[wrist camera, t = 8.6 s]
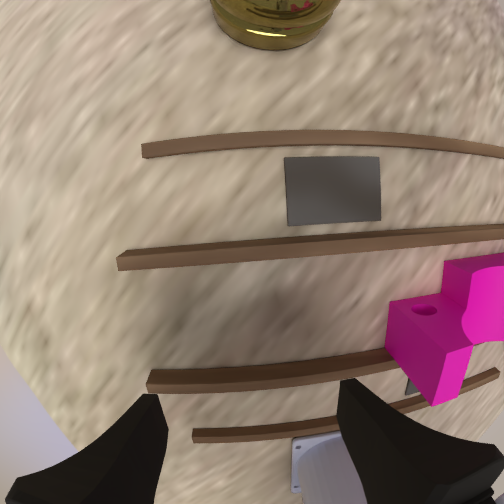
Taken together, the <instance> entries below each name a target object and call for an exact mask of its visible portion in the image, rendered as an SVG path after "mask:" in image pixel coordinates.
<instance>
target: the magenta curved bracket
mask: <svg viewBox="0 0 504 504" xmlns="http://www.w3.org/2000/svg"><path fill="white" fill-rule="evenodd" d="M489 341H504V253H498V254H491V255H484V256H477V257H470V258H462V259H455V260H447V261H444V270H443V279H442V288H441V293H437V294H432V295H426V296H420V297H415V298H409V299H403V300H397V301H390V304H389V314H388V323H387V332H386V340H385V349H386V350H387V351H388V352H389V354H390V355H391V356H392V357H393V359H394V360H395V361H396V362H397V363H398V365H399V366H400V367H401V369H402V370H403V371H404V372H405V374H406V375H407V376H408V377H409V379H410V380H411V381H412V382H413V384H414V385H415V386H416V388H417V389H418V390H419V391H420V393H421V394H422V395H423V397H424V398H425V399H426V400H427V402H428V403H429V404H430V406H431V407H432V406H435V405H438V404H441V403H444V402H446V401H449V400H452V399H454V398H457V397H458V394H459V391H460V388H461V385H462V382H463V379H464V376H465V373H466V370H467V367H468V363H469V360H470V356H471V353H472V349H473V345H475V344H479V343H483V342H489Z"/></svg>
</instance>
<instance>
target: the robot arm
mask: <svg viewBox="0 0 504 504" xmlns="http://www.w3.org/2000/svg"><path fill="white" fill-rule="evenodd" d="M336 417H337V421H338V425H339V429H340V431H335V432H330V433H324V434H318V435H312V436H306V437H298V438H295V439H294V440H293V441H292V468H291V492H292V493H302V498H303V503H304V504H504V493H503V494H502V495H501V496H499V497H498V498H497V499H496V500H495V501H494V500H493V498H492V497H491V496H492V495H493V494H494V491H493V489H492V488H491V486H492V484H493V483H494V482H495V480H496V479H497V478H498V476H499V475H500V474H501V472H502V471H503V469H504V456H503V454H502V453H501V452H500V451H499V449H498V448H497V447H496V446H495V445H494V444H486V443H479V442H472V441H468V440H464V439H459V438H456V437H452V436H449V435H446V434H443V433H441V432H438V431H435V430H433V429H430V428H428V427H426V426H424V425H422V424H420V423H418V422H416V421H414V420H412V419H410V418H409V417H407V416H405V415H404V414H402V413H400V412H399V411H397V410H396V409H394V408H393V407H391V406H390V405H388V404H387V403H386V402H384V401H383V400H382V399H380V398H379V397H378V396H376V395H375V394H374V393H373V392H371V391H370V390H369V389H368V388H367V387H365V386H364V385H363V384H362V383H360V382H359V381H358V380H357V379H355V378H352V379H346V380H341V381H340V389H339V398H338V407H337V415H336ZM168 430H169V429H168V426H167V423H166V420H165V417H164V414H163V410H162V407H161V404H160V401H159V398H158V394H143V395H142V396H141V397H140V398H139V399H138V400H137V401H136V402H135V403H134V404H133V405H132V406H131V407H130V408H129V409H128V410H127V411H126V412H125V413H124V414H123V415H122V416H121V417H120V418H119V419H118V420H117V421H116V422H115V423H114V424H113V425H112V426H111V427H110V428H109V429H108V430H107V431H106V432H104V433H103V434H102V435H101V436H100V437H99V438H97V439H96V440H95V441H94V442H92V443H91V444H90V445H88V446H87V447H85V448H84V449H83V450H81V451H80V452H78V453H76V454H75V455H73V456H71V457H69V458H68V459H66V460H64V461H62V462H60V463H58V464H56V465H54V466H52V467H49V468H47V469H44V470H42V471H39V472H36V473H33V474H29V475H26V476H22V477H18V478H17V479H16V480H15V482H14V484H13V486H12V487H11V489H10V491H9V493H8V495H7V497H6V498H5V502H6V504H154V497H155V492H156V488H157V484H158V480H159V476H160V472H161V468H162V465H163V461H164V457H165V453H166V448H167V440H168Z"/></svg>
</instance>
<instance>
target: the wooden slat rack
mask: <svg viewBox="0 0 504 504" xmlns="http://www.w3.org/2000/svg"><path fill="white" fill-rule="evenodd" d="M311 145H350V146H383V147H402V148H417V149H429V150H440V151H450V152H459V153H467V154H475V155H482V156H489V157H496V158H502V159H504V148H503V147H498V146H493V145H488V144H482V143H476V142H470V141H464V140H457V139H450V138H442V137H434V136H425V135H415V134H404V133H391V132H375V131H352V130H282V131H259V132H242V133H229V134H217V135H206V136H197V137H188V138H180V139H172V140H165V141H158V142H151V143H145V144H141V147H142V158H146V159H149V158H156V157H163V156H171V155H179V154H187V153H196V152H206V151H217V150H228V149H242V148H257V147H277V146H311ZM284 166H285V182H286V198H287V217H288V226H299V225H314V224H330V223H347V222H364V221H381V185H380V163H379V157H292V158H284ZM499 239H504V224H491V225H472V226H454V227H437V228H420V229H403V230H387V231H372V232H357V233H342V234H327V235H313V236H299V237H285V238H272V239H259V240H246V241H233V242H220V243H208V244H195V245H183V246H171V247H159V248H148V249H136V250H126V251H125V252H123V253H122V254H120V255H119V256H118V257H116V260H117V266H118V271H127V270H141V269H155V268H169V267H183V266H196V265H210V264H223V263H236V262H249V261H261V260H274V259H286V258H299V257H311V256H323V255H335V254H346V253H358V252H370V251H381V250H392V249H403V248H415V247H426V246H436V245H447V244H458V243H468V242H479V241H489V240H499ZM483 343H484V342H483ZM479 344H481V343H479ZM479 344H475V345H473V346H476V345H479ZM396 368H400V366H399V365H398V363H397V362H396V361H395V360H394V359H393V357H392V356H391V355H390V354H389V352H388V351H387V350H386V349H385V348H381V349H376V350H370V351H365V352H359V353H354V354H348V355H341V356H335V357H328V358H321V359H314V360H306V361H298V362H290V363H280V364H271V365H260V366H247V367H233V368H215V369H187V370H151V372H150V375H149V377H148V380H147V382H146V387H147V390H148V393H157V394H197V393H225V392H242V391H255V390H267V389H277V388H286V387H295V386H302V385H310V384H317V383H324V382H330V381H336V380H342V379H348V378H353V377H358V376H363V375H368V374H373V373H378V372H383V371H387V370H391V369H396ZM499 375H500V371H499V370H498V369H497V368H492V369H490V370H488V371H485V372H483V373H481V374H478V375H476V376H473V377H471V378H468V379H466V380H463V382H462V385H461V388H460V391H459V394H458V395H460V394H463V393H465V392H468V391H470V390H473V389H475V388H477V387H480V386H482V385H484V384H486V383H489V382H491V381H493V380H495V379H497V378H498V377H499ZM417 392H420V391H419V390H418V389H417V388H416V386H415V385H414V384H413V382H412V381H411V380H410V379H409V380H408V384H407V388H406V392H405V395H410V394H413V393H417ZM388 405H390V406H391V407H393V408H394V409H396V410H397V411H399V412H400V413H402V414H405V413H409V412H412V411H415V410H418V409H422V408H425V407H428V406H430V404H429V403H428V402H427V400H426V399H425V398H424V397H423V395H419V396H416V397H413V398H409V399H406V400H402V401H398V402H395V403H391V404H388ZM335 430H340V429H339V425H338V421H337V417H336V416H332V417H326V418H320V419H314V420H307V421H300V422H292V423H284V424H275V425H265V426H253V427H237V428H213V429H193V432H192V440H193V443H233V442H250V441H263V440H273V439H282V438H291V437H298V436H305V435H312V434H318V433H324V432H330V431H335Z"/></svg>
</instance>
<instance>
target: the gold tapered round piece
mask: <svg viewBox="0 0 504 504" xmlns="http://www.w3.org/2000/svg"><path fill="white" fill-rule="evenodd" d="M210 1H211V4H212V8H213V14H214V17H215V19H216V21H217V23H218V24H219V26H220V27H221V28H222V30H223V31H224V32H225V33H227V34H228V35H229V36H231V37H232V38H233V39H235V40H237V41H239V42H241V43H243V44H246V45H248V46H252V47H255V48H260V49H268V50H281V49H289V48H294V47H297V46H300V45H302V44H305V43H307V42H308V41H310V40H311V39H313V38H314V37H315V36H316V35H317V34H318V33H319V32H320V31H321V29H322V28H323V26H324V24H326V22H327V21H328V20H329V19H330V17H331V15H332V13H333V11H334V9H335V8H336V7H337V6H338V4H339V3H340V1H341V0H210Z"/></svg>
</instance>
